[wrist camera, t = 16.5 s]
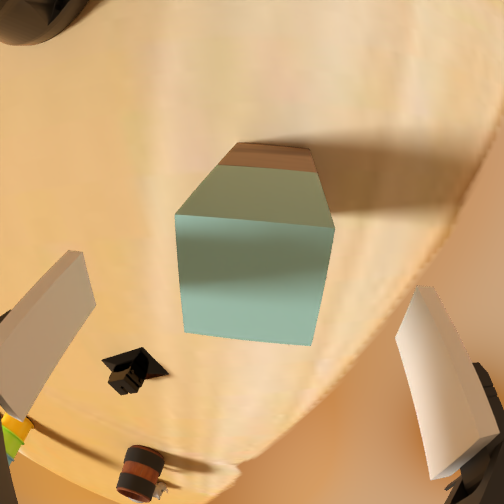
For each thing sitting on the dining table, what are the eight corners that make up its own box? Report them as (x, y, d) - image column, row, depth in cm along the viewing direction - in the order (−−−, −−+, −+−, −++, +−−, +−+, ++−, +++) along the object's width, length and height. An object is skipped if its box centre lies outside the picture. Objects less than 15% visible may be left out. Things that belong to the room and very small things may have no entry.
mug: (126, 455, 61) (112, 494, 51) (130, 439, 55) (113, 484, 45) (160, 468, 62) (148, 507, 52) (168, 454, 56) (155, 500, 46)
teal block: (217, 164, 19) (174, 214, 12) (317, 172, 19) (335, 228, 12) (216, 252, 22) (184, 332, 15) (305, 260, 21) (311, 346, 14)
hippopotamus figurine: (164, 478, 72) (169, 504, 66) (123, 478, 68) (127, 504, 61) (166, 472, 69) (171, 499, 62) (122, 472, 64) (126, 500, 58)
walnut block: (237, 142, 26) (217, 164, 19) (309, 148, 26) (317, 172, 19) (234, 208, 29) (216, 251, 22) (301, 214, 28) (305, 260, 21)
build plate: (122, 384, 46) (112, 406, 42) (92, 353, 43) (79, 375, 39) (179, 372, 42) (170, 398, 38) (146, 336, 39) (133, 362, 35)
